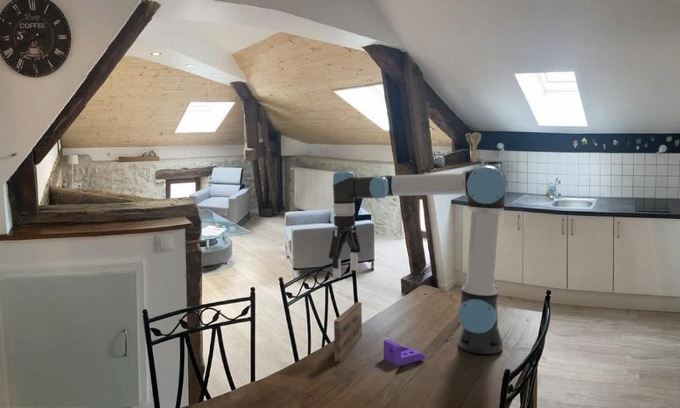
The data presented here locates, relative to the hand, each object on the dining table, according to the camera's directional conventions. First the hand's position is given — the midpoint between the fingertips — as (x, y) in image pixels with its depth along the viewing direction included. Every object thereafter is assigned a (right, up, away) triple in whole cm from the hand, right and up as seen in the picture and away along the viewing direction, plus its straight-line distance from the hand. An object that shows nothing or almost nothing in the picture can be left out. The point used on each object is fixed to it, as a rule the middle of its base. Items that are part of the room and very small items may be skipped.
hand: (345, 273), depth 179 cm
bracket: (+20, -28, -11) cm, 36 cm away
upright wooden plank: (+1, -27, -2) cm, 27 cm away
